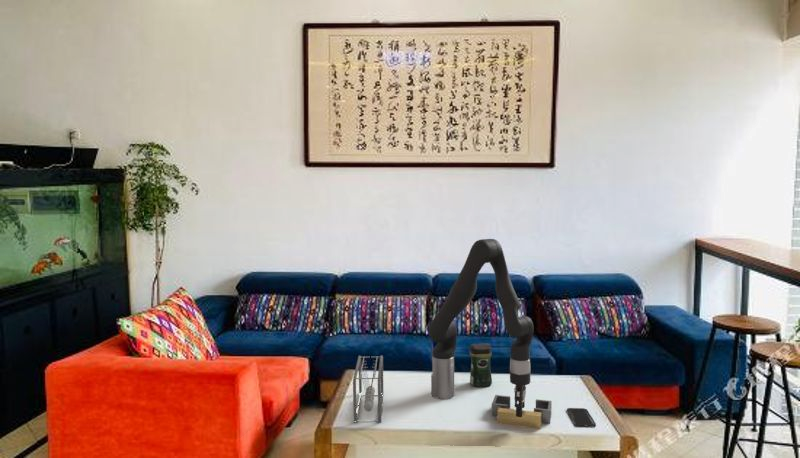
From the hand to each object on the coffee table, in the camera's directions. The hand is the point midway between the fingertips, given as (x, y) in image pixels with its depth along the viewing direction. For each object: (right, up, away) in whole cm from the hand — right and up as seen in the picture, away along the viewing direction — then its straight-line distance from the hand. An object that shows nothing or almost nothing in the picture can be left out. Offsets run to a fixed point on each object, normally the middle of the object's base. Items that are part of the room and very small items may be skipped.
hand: (520, 412), depth 212 cm
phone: (+24, -5, +5) cm, 25 cm away
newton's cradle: (-58, -4, +17) cm, 60 cm away
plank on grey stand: (+2, -4, +9) cm, 10 cm away
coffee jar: (-9, -1, +41) cm, 42 cm away
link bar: (0, -5, +1) cm, 5 cm away
